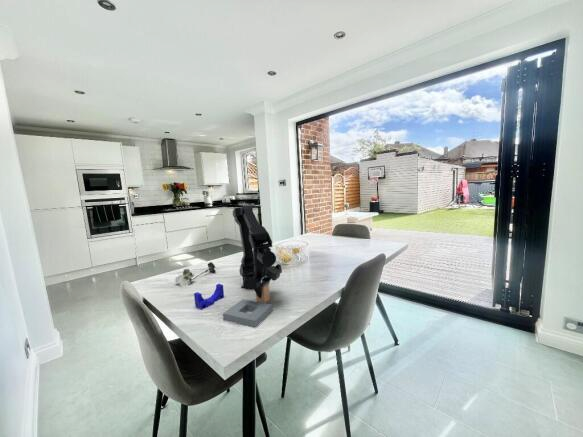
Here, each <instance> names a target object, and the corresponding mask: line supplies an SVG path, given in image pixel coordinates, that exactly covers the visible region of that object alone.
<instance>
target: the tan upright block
mask: <svg viewBox="0 0 583 437" xmlns="http://www.w3.org/2000/svg"><path fill="white" fill-rule="evenodd" d="M262 283H265V284H264V285H263V286H262V297H261V298H259V297H258V296H257V294H256V293H255V298H256V299H255V300H256V302H261V303H266V304H267V302H268V301H269V300H270V297H271V296H270V282H269V281H262Z"/></svg>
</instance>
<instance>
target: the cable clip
mask: <svg viewBox="0 0 583 437" xmlns="http://www.w3.org/2000/svg"><path fill="white" fill-rule="evenodd" d="M224 291H225V290H224V284H221V283H217V284H216V285H215V290H214V292H213V294H212V295H210V296H209V297H208V298H204V297H203V296H202V293H200V292H198V291H197V292H194V293H193V296H194V307H195V308H197V309H199V310H201V311H202V310H204V309H207V308H208V307H210V306H213V305H215V302H218V301H220V300H222V299H224V298H225V293H224Z"/></svg>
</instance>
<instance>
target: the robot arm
mask: <svg viewBox="0 0 583 437" xmlns="http://www.w3.org/2000/svg"><path fill="white" fill-rule="evenodd" d="M253 210H254V208H253V206H252V205H243V206H239V207H234V209H232V217H233V218H234V222H235V223H236V224H237V225H238V227H239V233H240V234H239V235H240V240H241V246H242V254H243V255H242V257H241V260H240V263H241V264H240V266H239V270H238V271H239V275H240V276H241V277H242V285H241V288H242V289H247V290H248V289H249V290H253V291H254V292H255V295H256V294H257V296H258V297H259V298H261V297H262V286H263V285H264V284H265V283H262V281H269V283H270V282H271V281H276V280H277V279H279V278H280V276H281V274H282V273H283V271H282V270H283V269H282V265H281V264H279V263H277V264H276V262H277V255H276V253H275V252H273V251H272V249H271V248H272V247H273V240H272V238H271V236H270V234H269V231H268V230H267V229H266V227H264V226H263V225H262V224H260V222H259V221H258V219H257V216H256V215H255V213H254V211H253ZM274 264H276V265H274Z"/></svg>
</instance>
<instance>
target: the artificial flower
mask: <svg viewBox="0 0 583 437" xmlns="http://www.w3.org/2000/svg"><path fill="white" fill-rule="evenodd" d="M207 267H208V269H206V270H204V271H203V272H201V273H200V274H198V275H196V276H195V274H196V273H193V272H191V271H190V270H191V269H189V268H185V269H183V271H182V274H179V275H178V276H176V277H175V279H174V282H175V283H176V284H179V286H180V287H183V288H184V287H186V286H189V285H191V284H192V281H193V280H195V279H196V278H198V277H199V276H201V275H202V274H205V273H208V272H210V273H217V270H216V266H215V264H214V263H213V262H212V261H211V262H209V263H207ZM194 276H195V277H194ZM193 277H194V278H193Z"/></svg>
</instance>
